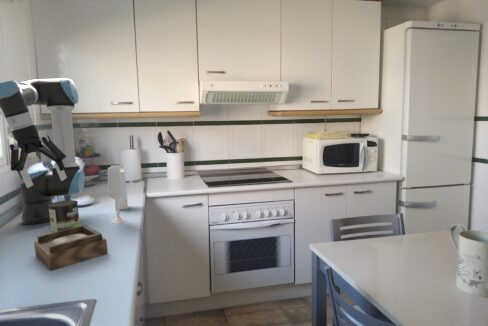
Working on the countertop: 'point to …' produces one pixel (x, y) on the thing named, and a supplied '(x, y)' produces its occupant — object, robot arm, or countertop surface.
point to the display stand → (69, 246)
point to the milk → (123, 200)
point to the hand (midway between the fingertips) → (47, 182)
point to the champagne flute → (115, 190)
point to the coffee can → (64, 215)
